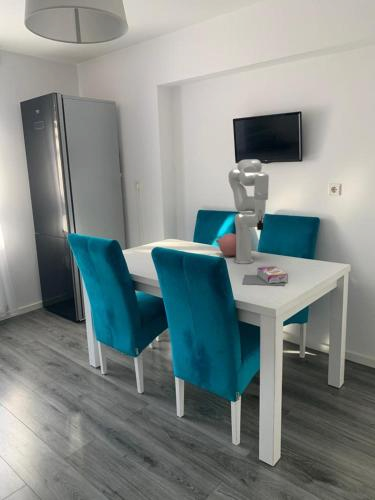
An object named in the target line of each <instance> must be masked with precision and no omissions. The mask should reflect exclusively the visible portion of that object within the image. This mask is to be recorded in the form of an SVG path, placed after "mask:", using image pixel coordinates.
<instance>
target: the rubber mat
mask: <svg viewBox="0 0 375 500" xmlns="http://www.w3.org/2000/svg"><path fill="white" fill-rule="evenodd" d="M285 283H286V282H285ZM285 283H272V284H268V283H267V282H265V281H264V280H263V279H261V278H260V277H259V276H257V274H244V276H243V280H242V283H241V284H242V285H244V286H245V285H247V286H269V287H270V286H271V287H272V286H273V287H274V286H276V287H286V284H285Z"/></svg>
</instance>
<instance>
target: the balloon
mask: <svg viewBox="0 0 375 500" xmlns="http://www.w3.org/2000/svg"><path fill="white" fill-rule="evenodd" d="M215 242H216V243H217V245H218V247H219V250H220V253H222V254H223V255H224V256H227V257H233V256H234V257H235V256H236V233H227V234H223V236H222V237H221V238H216V239H215Z"/></svg>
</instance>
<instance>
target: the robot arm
mask: <svg viewBox="0 0 375 500" xmlns="http://www.w3.org/2000/svg"><path fill="white" fill-rule="evenodd" d="M262 169H263V166H262V162H261V161H260V160H259V159H256V158H255V159H242V160H240V161H238V163H237V167H236V168H233V169H231V170H230V171H229V172H228V182H229V185H230V188H231V191H232V193H233V200H234V207H235V210H236V211H237V212H238V213H236V215H235V216H234V224H235V235H236V255H235V258H234V259H233V262H234V263H236V264H239V265H240V264H241V265H243V264H252V263H254V259H253V258H252V233H251V232H250V231H249V229H248V228H256V230H257V231H264V218H265V215H266V205H267V203H266V202H267V200H268V201H269V186H270V185H269V183H270V182H269V181H270V180H269V178H270V177H269V174H268V173H266V172H264V171H262ZM246 187H254V188H253V195H248V193H247V192H248V191H247V189H246Z"/></svg>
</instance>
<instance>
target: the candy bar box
mask: <svg viewBox="0 0 375 500" xmlns="http://www.w3.org/2000/svg"><path fill="white" fill-rule="evenodd" d="M256 275H257V276H259V277H260V278H261V279H263V280H264V281H265V282H267V283H268V284H272V283H288V278H289V277H288V273H287V272H285V271H284V270H282V269H280V268H279V267H277V266H276V265H275V266H264V267H263V266H262V267H257V274H256Z"/></svg>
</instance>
